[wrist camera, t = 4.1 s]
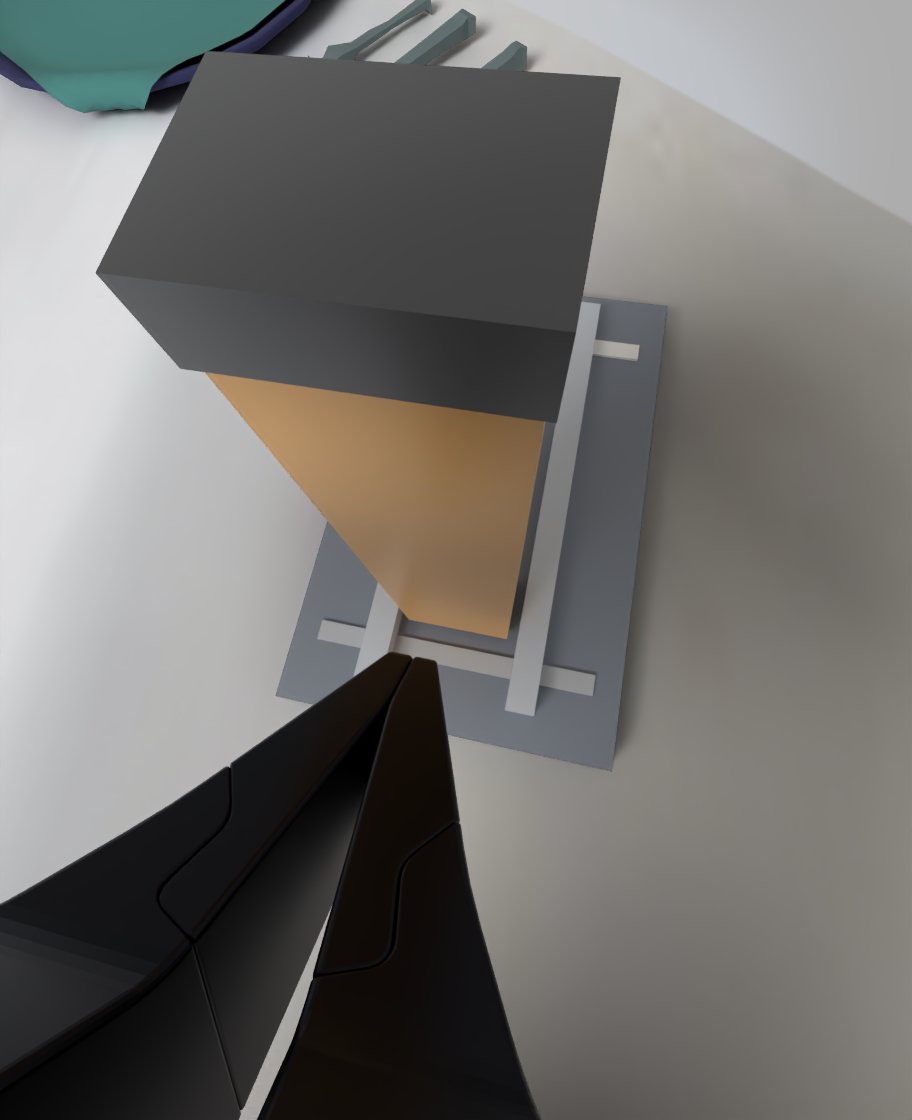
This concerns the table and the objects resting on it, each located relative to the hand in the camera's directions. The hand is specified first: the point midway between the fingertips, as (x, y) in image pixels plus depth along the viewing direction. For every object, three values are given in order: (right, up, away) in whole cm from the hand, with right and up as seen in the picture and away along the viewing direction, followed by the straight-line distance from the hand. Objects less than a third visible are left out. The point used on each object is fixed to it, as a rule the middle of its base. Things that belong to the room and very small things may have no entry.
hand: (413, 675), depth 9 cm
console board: (+2, +4, +9) cm, 10 cm away
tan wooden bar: (+1, +1, +7) cm, 7 cm away
